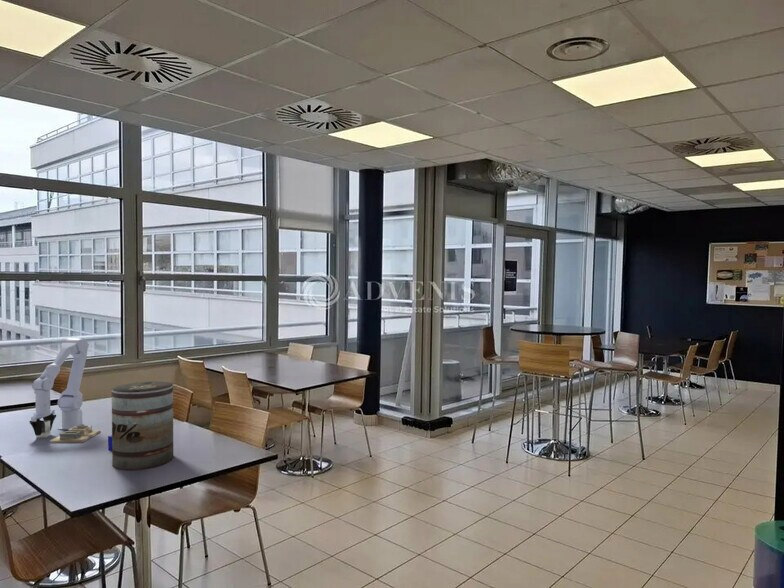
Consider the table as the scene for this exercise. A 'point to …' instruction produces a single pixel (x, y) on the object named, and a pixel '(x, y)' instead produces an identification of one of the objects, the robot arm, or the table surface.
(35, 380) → the robot arm
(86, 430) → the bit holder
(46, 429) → the brushed aluminum block
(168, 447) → the barrel
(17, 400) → the table surface
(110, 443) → the cable clip
